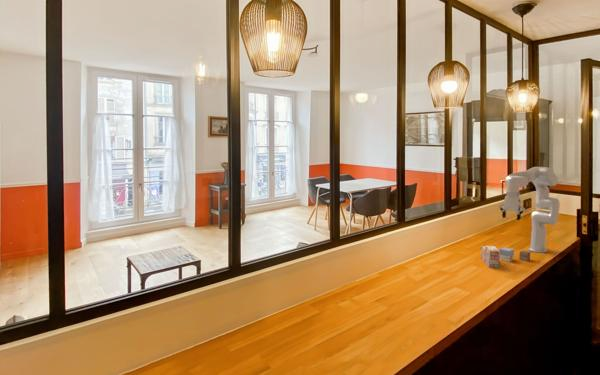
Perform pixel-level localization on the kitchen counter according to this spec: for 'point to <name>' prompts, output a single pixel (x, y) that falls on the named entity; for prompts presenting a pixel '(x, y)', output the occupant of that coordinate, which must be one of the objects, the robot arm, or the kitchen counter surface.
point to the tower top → (506, 251)
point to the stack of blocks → (490, 256)
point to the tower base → (506, 258)
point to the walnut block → (524, 255)
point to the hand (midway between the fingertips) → (511, 218)
